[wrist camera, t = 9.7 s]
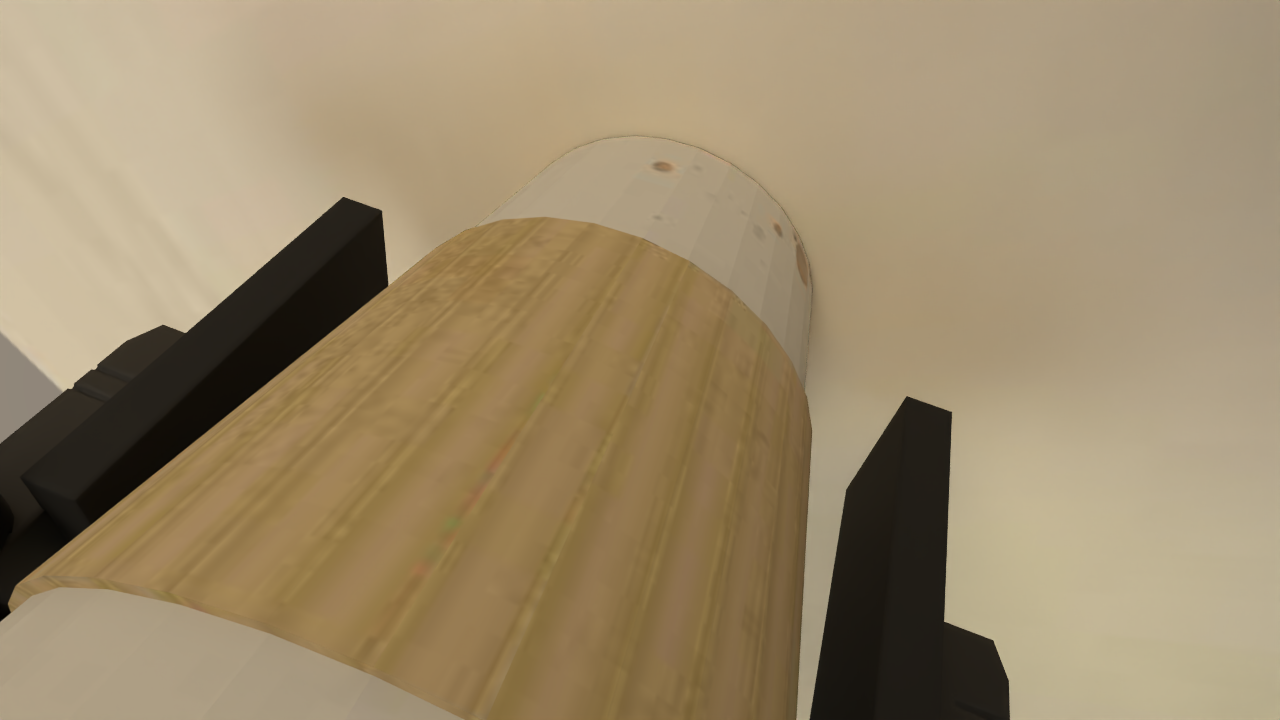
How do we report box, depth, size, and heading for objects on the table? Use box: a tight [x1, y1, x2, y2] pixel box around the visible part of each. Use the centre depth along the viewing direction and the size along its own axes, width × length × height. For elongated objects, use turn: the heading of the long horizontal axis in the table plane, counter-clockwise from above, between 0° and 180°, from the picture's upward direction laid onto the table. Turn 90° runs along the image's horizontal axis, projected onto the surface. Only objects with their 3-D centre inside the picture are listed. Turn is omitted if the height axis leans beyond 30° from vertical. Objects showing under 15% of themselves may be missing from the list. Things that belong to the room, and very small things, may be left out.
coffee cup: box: [0, 136, 812, 720], centre depth 10 cm, size 10×10×15 cm
